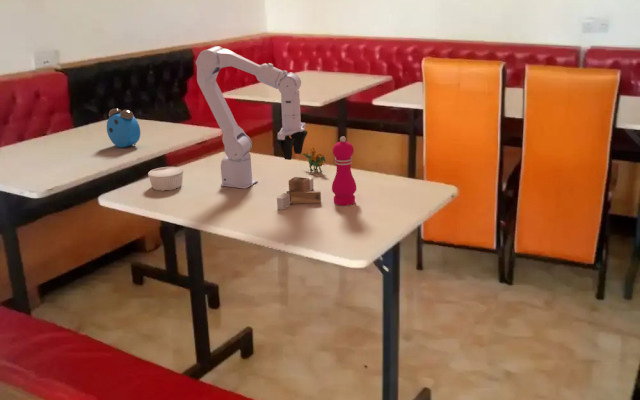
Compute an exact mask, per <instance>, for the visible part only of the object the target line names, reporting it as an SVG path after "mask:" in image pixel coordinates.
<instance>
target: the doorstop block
mask: <svg viewBox="0 0 640 400" xmlns="http://www.w3.org/2000/svg"><path fill="white" fill-rule="evenodd" d="M288 191H289V192H290V201H291V192H311V191H310V179H309V178H307V177H301V176H294V177H292V178H291V179H289V180H288Z"/></svg>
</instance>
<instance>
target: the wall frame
mask: <svg viewBox="0 0 640 400" xmlns="http://www.w3.org/2000/svg"><path fill="white" fill-rule="evenodd" d="M306 178H309V179H310V192H311V191H312V190H314V177H310V176H309V177H306ZM276 202H277V203H276V204H277V207H276V208H277V210H280V211H281V210H284V211H285V210H287V208H288V207H290V206H291V200H290V192H289V190H287V191H286V193H282V194H280V195H279V196H278V197H276Z"/></svg>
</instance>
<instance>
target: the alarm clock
mask: <svg viewBox="0 0 640 400" xmlns="http://www.w3.org/2000/svg"><path fill="white" fill-rule="evenodd" d="M108 116H109V117H108V119H107V121H106V133H107V135H108V138H109V140H110V141H111V143H112V144H113V145H114V146H116V147H117V148H120V149H121V148H126V147H130V146H133V145H134V146H135V145H136V146H137V143H138V142H139V141H140V138H141V128H140V123H139V122H138V120H137V119H136V117H135V116H134V114H133V112H132V111H131V110H130V109H123V110H122V109H119V108H112V109H110V110H109V112H108Z"/></svg>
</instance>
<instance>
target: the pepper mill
mask: <svg viewBox="0 0 640 400" xmlns="http://www.w3.org/2000/svg"><path fill="white" fill-rule="evenodd" d="M354 150H355V149H354V145H352V143H351V142H349V141H347V138H346V137H345V136H341V137H340V138H339V141H338V142H336V143H334V144H333V148H332V154H333V156H334V157H335V158H334V164H336V166H335V167H336V173H335V175H334V179H333V180H332V181H333V182H332V183H331V184H332V185H331V192H332V194H334V196H333V203H334V204H335V205H337V206H351V205H353V204H354V203H356V196H355V193H356V191H357V184H356V180H355V178H354V176H353V173H352V168H351V166H352V163H353V158H352V156H353V155H354Z"/></svg>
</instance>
